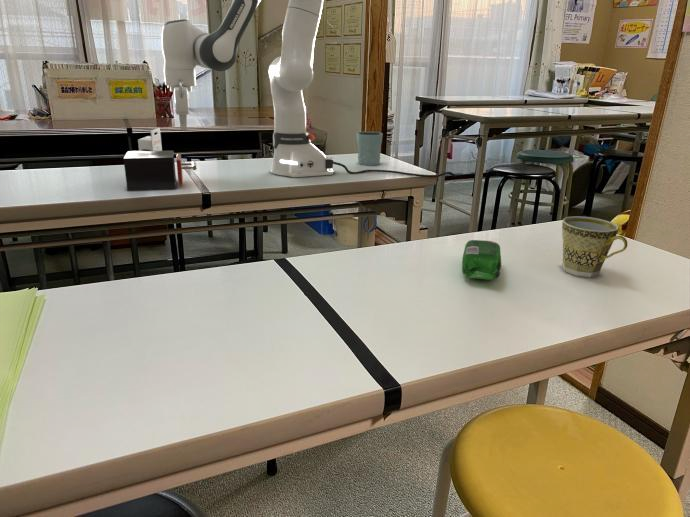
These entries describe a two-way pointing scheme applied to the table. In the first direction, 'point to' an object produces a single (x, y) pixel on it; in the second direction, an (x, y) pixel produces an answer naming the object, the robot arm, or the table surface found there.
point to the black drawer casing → (150, 170)
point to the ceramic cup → (587, 244)
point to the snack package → (481, 260)
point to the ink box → (151, 142)
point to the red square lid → (179, 168)
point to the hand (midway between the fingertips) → (183, 127)
